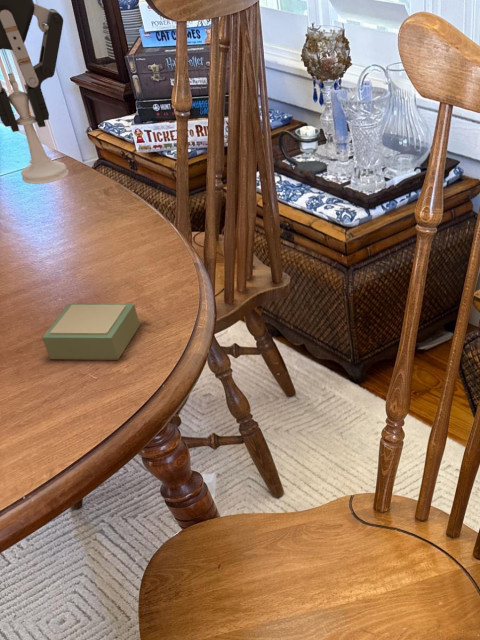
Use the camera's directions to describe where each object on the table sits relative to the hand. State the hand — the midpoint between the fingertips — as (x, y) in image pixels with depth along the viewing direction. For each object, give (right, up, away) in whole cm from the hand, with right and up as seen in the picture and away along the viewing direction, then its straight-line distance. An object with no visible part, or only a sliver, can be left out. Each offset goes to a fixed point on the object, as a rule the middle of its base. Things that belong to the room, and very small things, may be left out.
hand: (28, 126), depth 83 cm
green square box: (+4, -21, +9) cm, 23 cm away
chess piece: (0, -4, +4) cm, 5 cm away
